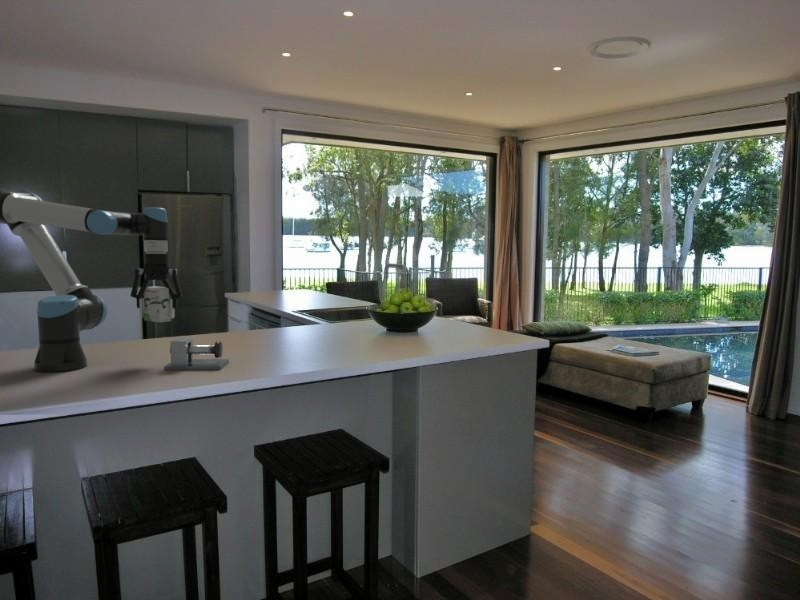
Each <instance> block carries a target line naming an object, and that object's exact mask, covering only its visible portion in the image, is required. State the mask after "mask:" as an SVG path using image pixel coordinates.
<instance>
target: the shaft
mask: <svg viewBox="0 0 800 600" xmlns="http://www.w3.org/2000/svg"><path fill="white" fill-rule="evenodd" d="M169 354H170V355H171V348H170V347H169ZM188 354H193V355H214V359H222V356H223V342H222V341H221V340H220V341H215V343H214V345H212V344H211V345H207V344H205V345H204V344H203V345H196V344H194V345H188Z"/></svg>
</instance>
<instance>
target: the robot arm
mask: <svg viewBox="0 0 800 600" xmlns="http://www.w3.org/2000/svg"><path fill="white" fill-rule="evenodd" d="M168 223H169V221H168V212H167V210H166V209H165V208H163V207H152V206H151V207H144V208H143V211H142V212H138V213H136V212H135V213H134V212H123V211H122V212H119V211H111V210H110V211H109V210H103V209H96V208H91V207H90V208H88V207H83V206H78V205H77V206H76V205H71V204H70V205H69V204H65V203H64V204H63V203H56V202H51V201H45V200H43V199H42V198H41V197H40V196H38V195H37V194H36V193H33V192H30V191H28V190H21V189H19V190H15V189H9V188H2V187H0V224H2V225H3V224H5V225H7V227H8V229H9V230H10V231H11V233H12V235H14V236H17V237H20V239H21V240H22V241H23V243H24V245H25V246H26V248H27V249H28V251H29V253H30V254H31V257H32V258H33V259H34V262H35V263H36V264H37V266H38V268H39V269H40V271H41V273H42V274H43V276H44V277H45V279H46V281H47V282H48V285H49V286H50V287H51V289H52V291H53V293H54V294H55V295H52V296H47V297H44V298H41V299H40V300H39V301H38V302H37V311H36V314H37V324H38V327H37V328H38V343H39V346H38V349H37V352H36V357H35V358H34V359H35V360H34V363H33V367H34V371H36V372H39V373H40V372H42V373H56V372H57V373H58V372H66V371H67V372H68V371H73V370H78V369H83V368H85V367H87V366H88V359H87V356H86V354H85V352H84V350H83V347H82V345H81V339H80V338H81V337H80V332H83V331H87V330H92V329H94V328H97V327H98V326H100V325H101V324H103V323H104V322H105V319H106V317H107V313H108V308H107V305H106V302H105V300H104V299H102V297H100V296H99V295H98V296H97V295H96V294H93V292H92V291H91V289H90V287H89V286H88V285H84V284H82V283H81V282H80V280H79V278H78V276H77V275H76V274H75V272H74V270H73V268H72V267H71V265H70V263H69V262H68V261H67V259H66V257H65V255H64V254H63V252H62V250H61V249H60V248H59V245H58V243H57V242H56V240H55V239H54V237H53V236H52V233H51V232H50V231H49V229H48V228H47V226H50V227H55V228H56V227H57V228H62V229H69V230H75V231H83V232H88V233H94V234H97V235H102V236H107V235H112V236H113V235H115V236H143V248H144V249H143V251H144V252H145V253H144V254H143V256H144V257H143V258H144V259H143V260H144V261H143V263H144V266H143V268H135V269H134V280H133V284H132V286H131V287H132V288H131V291H130V297H131V298H135V299H136V308H137V309H139V318H140V319H144V298H143V297H144V291H145V288H146V287H149V285H150V283H151V282H152V281H155V280H156V281H161V282H162V283H163V285H164V287H166V288H168V289H169V294H170V295H171V299H170V318H171V319H174V318H176V317H175V314H176V313H175V311H176V310H175V309H177V308H178V299H179V298H183V296H184V295H183V291H182V288H181V287H182V286H181V283H180V280H179V277H178V274H179V273H178V272H179V270H178V269H177V268H173V269H172V268H170V267H169V255H168V254H167V252H169V248H168V247H169V244H168ZM143 274H145V275H146V277H145V279H144V281H143V283H142V285H141V286H140V283H141V278H142V275H143ZM168 274H169V275H170V276H171V278H172V281H173V286H174V288H175V289H174V288H173V286H172V284H171V282H170V281H169V279H168V276H167V275H168ZM139 287H140V289H139Z"/></svg>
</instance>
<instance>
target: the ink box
mask: <svg viewBox="0 0 800 600" xmlns="http://www.w3.org/2000/svg"><path fill="white" fill-rule="evenodd" d="M143 299H144V318H143V321H145V322H146V321H147V322H152V323H153V322H154V323H165V322H167V323H168V322H171V321H172V318H170V299H172V297H171V295H170V294H169V289H168V288H166V287H165V286H160V285H159V286H157V285H153V286H148V287H146V288H145V291H144V294H143Z"/></svg>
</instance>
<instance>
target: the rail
mask: <svg viewBox="0 0 800 600" xmlns="http://www.w3.org/2000/svg"><path fill="white" fill-rule="evenodd" d="M193 339H194V338H193V337H176V338H174V339H173V340H171V341H170V342H169V343H170V344H169V345H170V347H169V349H170V348H171V354H170V362H169V363H168V364H166V365H164V366H163V369H164V371H197V370H198V371H199V370H200V371H202V370H203V371H209V370H211V371H212V370H213V371H214V370H215V371H216V370H217V371H221V370H222V369H223V368H224V367H226V366H227V364H229V363H230V359H229V358H194V354H188V345H193V341H194V340H193Z"/></svg>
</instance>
